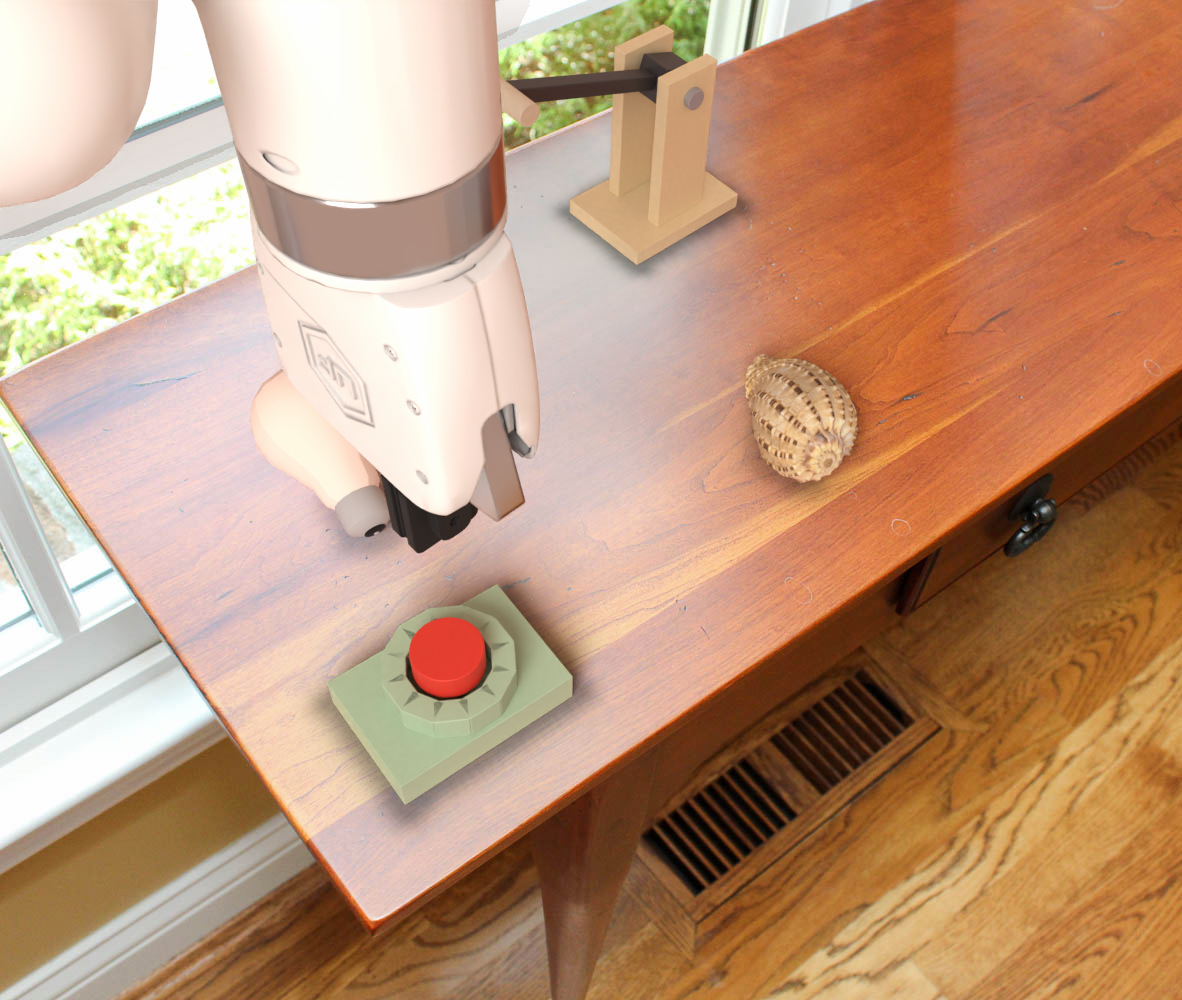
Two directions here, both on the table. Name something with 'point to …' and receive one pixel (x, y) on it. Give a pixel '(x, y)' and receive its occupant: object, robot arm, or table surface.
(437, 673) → the button
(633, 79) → the lever
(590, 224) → the bracket
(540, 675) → the control block
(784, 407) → the seashell
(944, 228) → the table surface
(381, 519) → the light bulb
